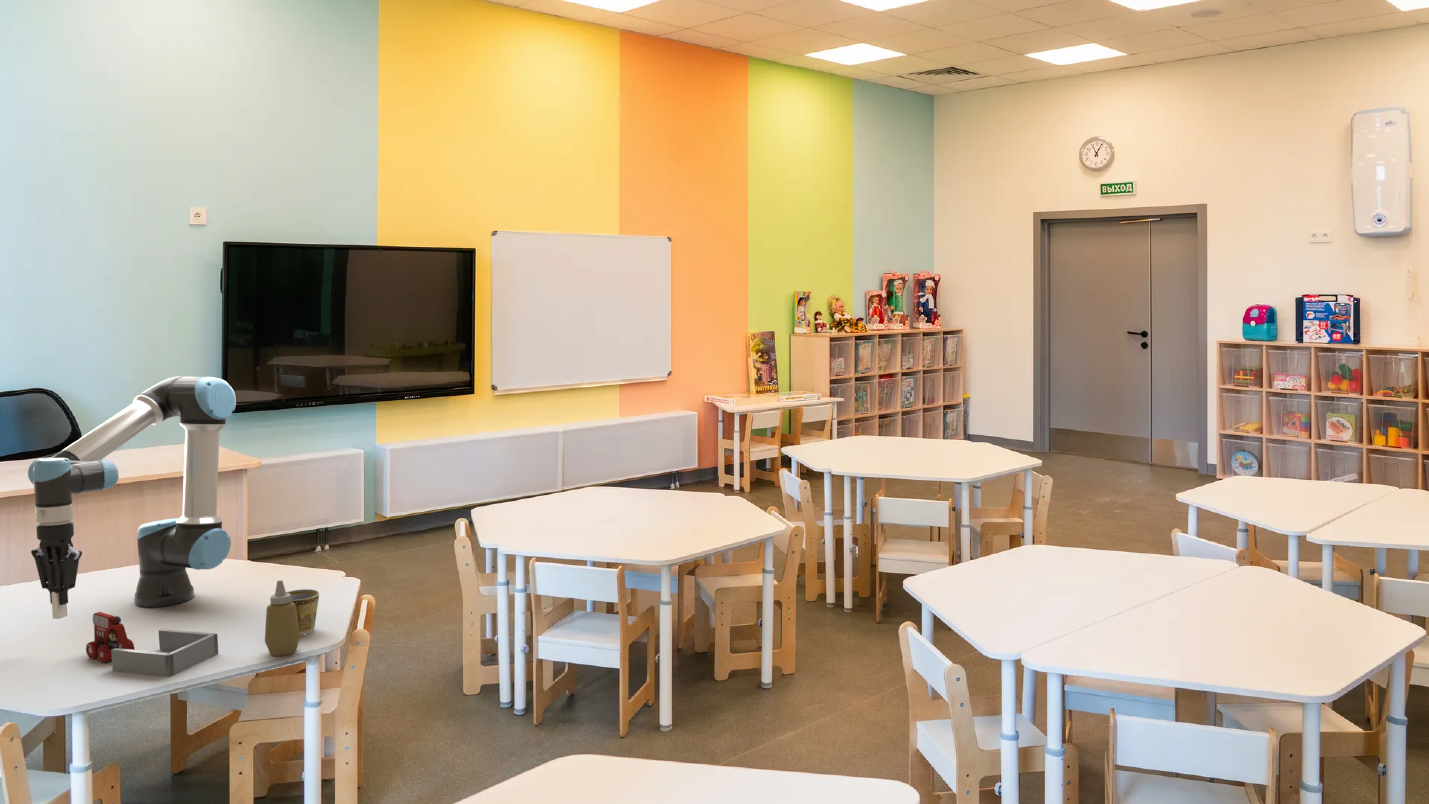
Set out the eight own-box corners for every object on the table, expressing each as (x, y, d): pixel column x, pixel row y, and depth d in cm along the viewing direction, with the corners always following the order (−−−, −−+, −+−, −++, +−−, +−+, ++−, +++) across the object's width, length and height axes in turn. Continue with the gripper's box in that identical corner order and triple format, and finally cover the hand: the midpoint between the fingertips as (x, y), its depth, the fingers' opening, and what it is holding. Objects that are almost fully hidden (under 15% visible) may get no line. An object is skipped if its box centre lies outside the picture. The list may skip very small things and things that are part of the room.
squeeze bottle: (288, 644, 250) (285, 574, 248) (307, 651, 245) (304, 579, 243) (258, 654, 243) (254, 582, 241) (277, 660, 239) (273, 587, 237)
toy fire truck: (110, 666, 236) (107, 623, 235) (82, 656, 242) (79, 615, 241) (140, 657, 242) (137, 615, 241) (111, 648, 248) (109, 607, 247)
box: (112, 670, 232) (111, 649, 232) (163, 648, 247) (162, 628, 247) (170, 676, 229) (169, 655, 228) (218, 653, 244) (217, 633, 243)
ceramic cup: (327, 632, 259) (325, 594, 258) (288, 641, 252) (286, 602, 251) (306, 620, 268) (304, 584, 267) (268, 629, 261) (266, 592, 260)
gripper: (19, 523, 240) (24, 619, 242) (63, 526, 237) (68, 623, 239) (46, 517, 247) (51, 610, 249) (90, 520, 244) (94, 614, 246)
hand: (60, 617), depth 244 cm, fingers closed
